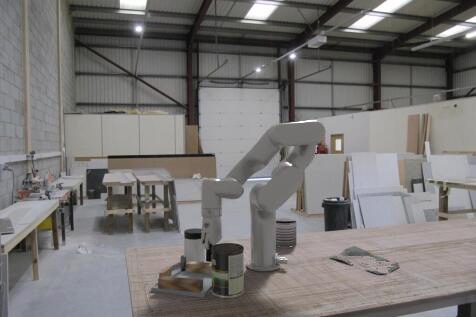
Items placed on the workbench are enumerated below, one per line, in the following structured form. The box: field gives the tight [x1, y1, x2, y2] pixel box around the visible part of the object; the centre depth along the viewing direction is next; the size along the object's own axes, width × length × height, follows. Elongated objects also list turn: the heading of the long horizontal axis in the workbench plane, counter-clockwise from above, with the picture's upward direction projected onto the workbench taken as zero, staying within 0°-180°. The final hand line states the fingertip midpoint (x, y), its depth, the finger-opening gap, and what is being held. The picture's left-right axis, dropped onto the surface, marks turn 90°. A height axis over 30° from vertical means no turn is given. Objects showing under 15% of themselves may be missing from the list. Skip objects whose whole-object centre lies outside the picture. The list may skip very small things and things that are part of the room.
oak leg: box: [186, 261, 212, 274], centre depth 128 cm, size 12×3×3 cm, turn 74°
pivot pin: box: [180, 254, 186, 271], centre depth 130 cm, size 2×2×5 cm
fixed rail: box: [157, 276, 203, 293], centre depth 114 cm, size 14×3×3 cm, turn 74°
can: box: [276, 217, 297, 248], centre depth 167 cm, size 11×11×12 cm
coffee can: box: [210, 242, 245, 299], centre depth 114 cm, size 10×10×14 cm
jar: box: [183, 227, 206, 263], centre depth 145 cm, size 9×8×12 cm
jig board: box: [150, 266, 212, 298], centre depth 122 cm, size 18×20×4 cm
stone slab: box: [328, 245, 401, 275], centre depth 141 cm, size 24×16×2 cm, turn 33°
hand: (210, 261), depth 134 cm, fingers closed
